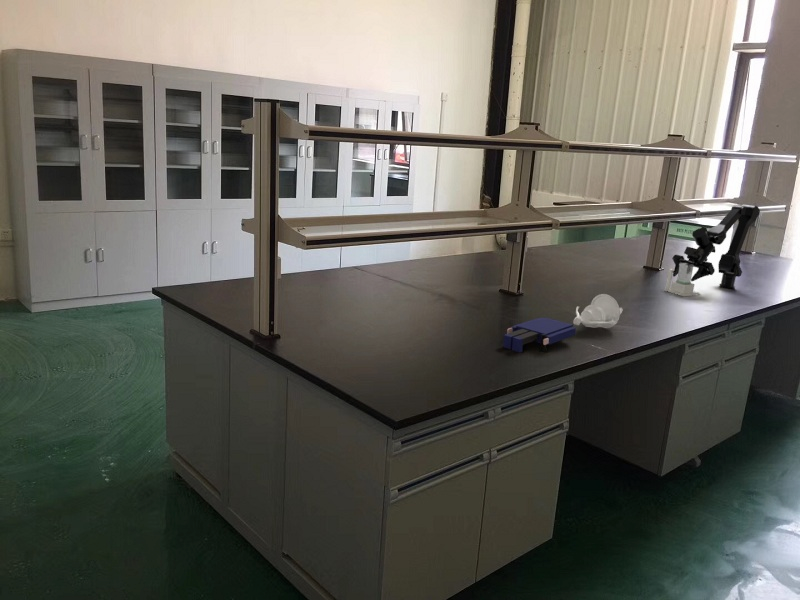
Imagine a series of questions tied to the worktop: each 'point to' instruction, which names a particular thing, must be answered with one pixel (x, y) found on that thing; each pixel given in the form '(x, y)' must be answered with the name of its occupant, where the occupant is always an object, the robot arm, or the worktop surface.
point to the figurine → (599, 313)
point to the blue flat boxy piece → (537, 333)
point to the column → (685, 273)
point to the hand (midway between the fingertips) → (682, 278)
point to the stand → (679, 287)
